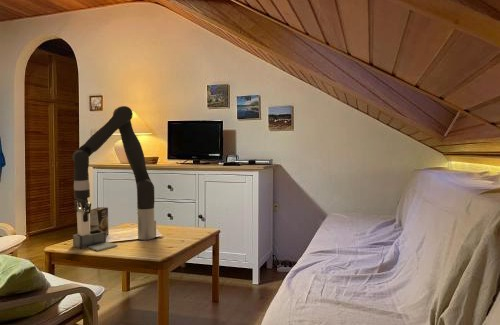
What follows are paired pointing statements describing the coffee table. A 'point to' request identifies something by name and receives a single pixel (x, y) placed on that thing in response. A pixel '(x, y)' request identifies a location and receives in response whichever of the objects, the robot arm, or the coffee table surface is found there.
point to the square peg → (82, 225)
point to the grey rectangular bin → (89, 239)
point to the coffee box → (99, 219)
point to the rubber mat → (103, 246)
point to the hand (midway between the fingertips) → (83, 220)
